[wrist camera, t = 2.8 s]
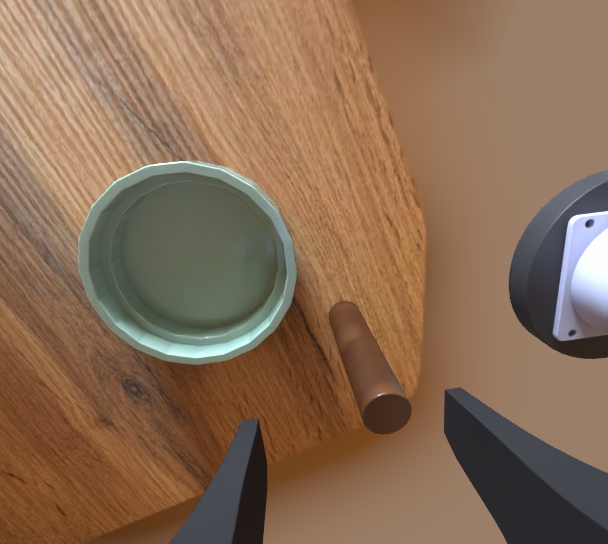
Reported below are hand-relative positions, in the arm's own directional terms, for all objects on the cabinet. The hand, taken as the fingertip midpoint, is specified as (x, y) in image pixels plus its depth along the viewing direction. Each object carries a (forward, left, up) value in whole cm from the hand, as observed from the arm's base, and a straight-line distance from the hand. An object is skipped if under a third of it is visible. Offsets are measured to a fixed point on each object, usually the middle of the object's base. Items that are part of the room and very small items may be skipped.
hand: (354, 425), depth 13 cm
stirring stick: (-1, 0, -9) cm, 10 cm away
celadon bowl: (+7, -5, -9) cm, 12 cm away
